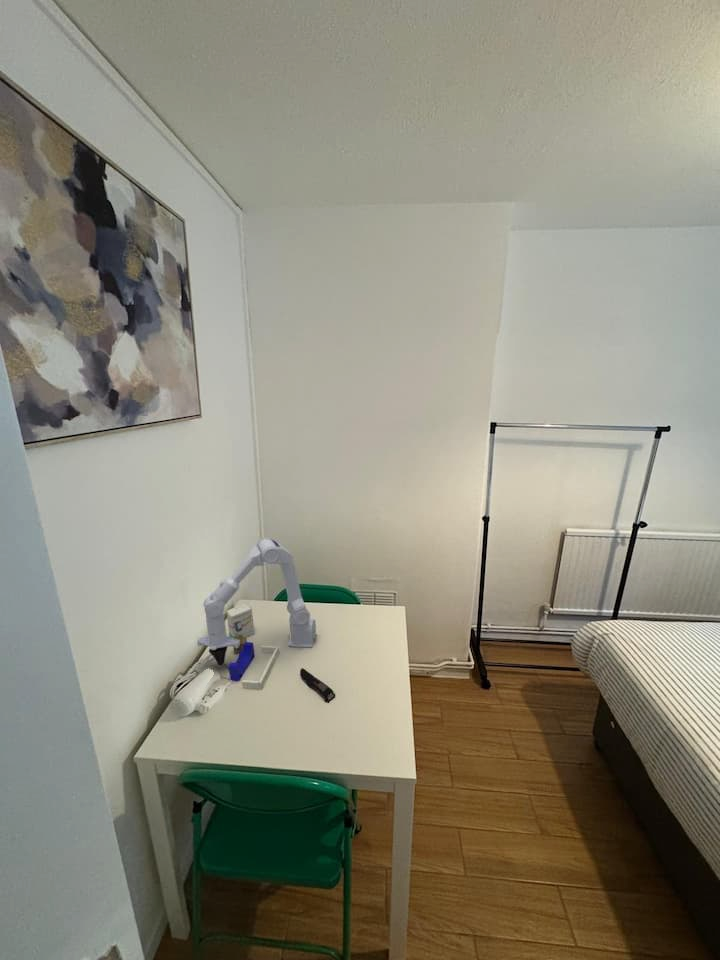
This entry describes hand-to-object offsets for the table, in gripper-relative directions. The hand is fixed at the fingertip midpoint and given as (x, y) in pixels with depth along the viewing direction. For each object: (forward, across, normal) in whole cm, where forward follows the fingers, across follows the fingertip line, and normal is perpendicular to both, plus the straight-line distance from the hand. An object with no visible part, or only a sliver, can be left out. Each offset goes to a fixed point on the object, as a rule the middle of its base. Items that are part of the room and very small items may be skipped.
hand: (221, 663), depth 131 cm
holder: (+1, +15, 0) cm, 15 cm away
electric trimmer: (+2, +36, -6) cm, 36 cm away
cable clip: (+2, +7, 0) cm, 7 cm away
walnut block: (+1, +3, +9) cm, 10 cm away
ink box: (+2, 0, +17) cm, 17 cm away
